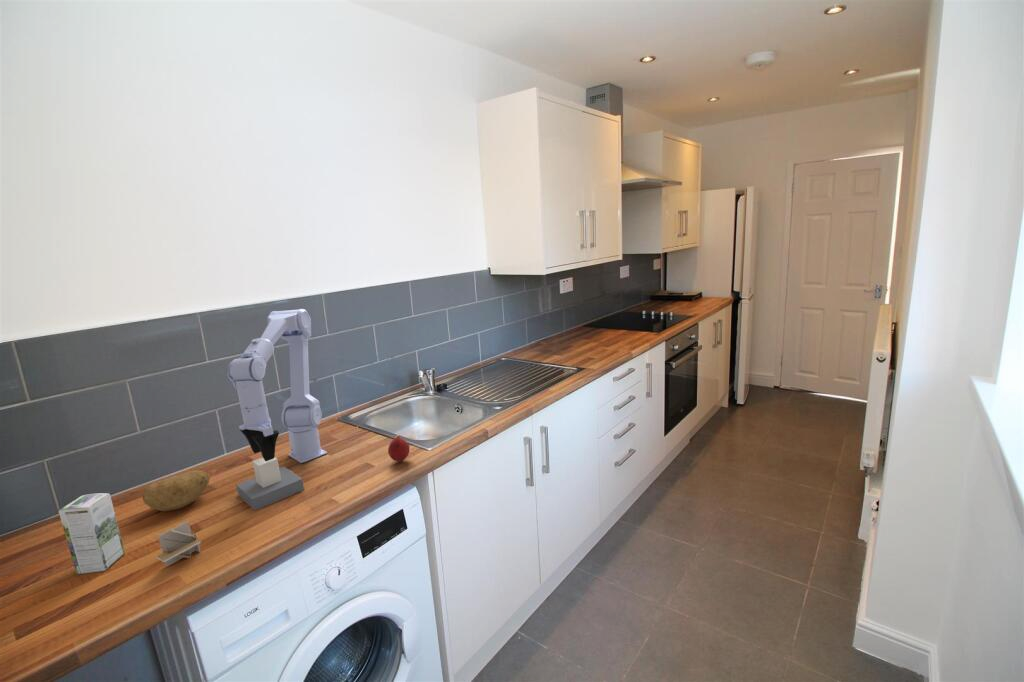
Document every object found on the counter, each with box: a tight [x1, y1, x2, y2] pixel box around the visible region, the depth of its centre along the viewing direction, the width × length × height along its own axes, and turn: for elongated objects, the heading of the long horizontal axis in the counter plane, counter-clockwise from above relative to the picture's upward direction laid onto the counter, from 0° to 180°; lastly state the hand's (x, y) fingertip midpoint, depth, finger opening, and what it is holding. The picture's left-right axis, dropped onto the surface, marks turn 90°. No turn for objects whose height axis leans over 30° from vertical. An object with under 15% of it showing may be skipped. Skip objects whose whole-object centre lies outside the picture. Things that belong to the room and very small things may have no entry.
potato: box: [142, 470, 211, 512], centre depth 119 cm, size 10×14×8 cm
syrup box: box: [58, 492, 125, 575], centre depth 97 cm, size 6×6×14 cm
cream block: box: [251, 456, 282, 488], centre depth 122 cm, size 4×4×6 cm
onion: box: [387, 434, 410, 463], centre depth 133 cm, size 6×6×8 cm
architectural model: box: [155, 520, 202, 568], centre depth 96 cm, size 3×7×7 cm, turn 149°
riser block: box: [235, 465, 305, 511], centre depth 122 cm, size 12×12×3 cm
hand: (264, 455), depth 121 cm, fingers open, 7 cm apart
